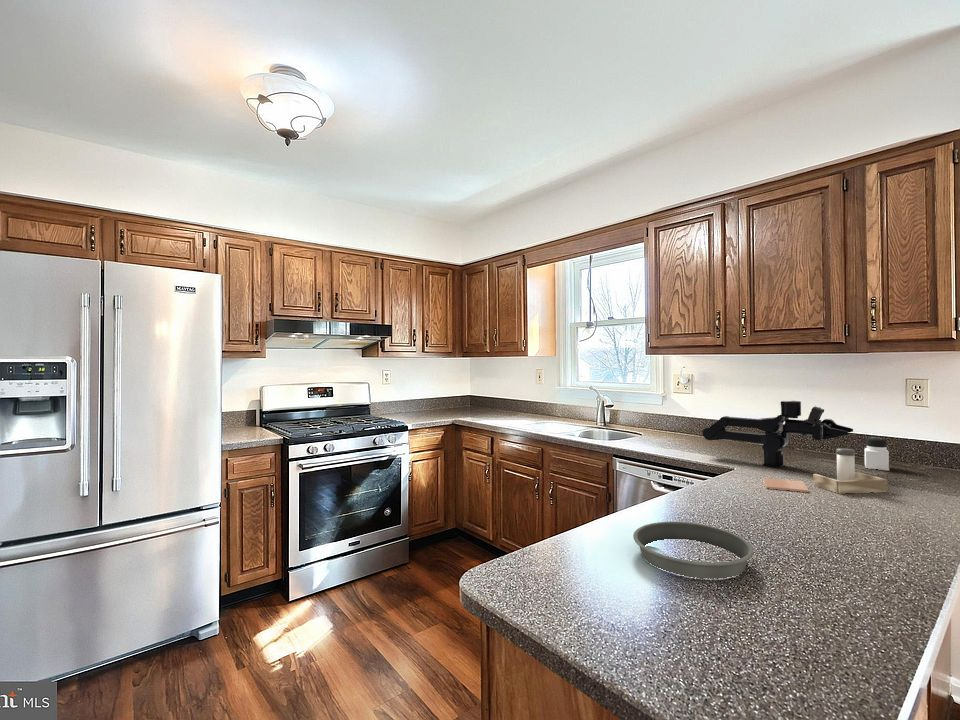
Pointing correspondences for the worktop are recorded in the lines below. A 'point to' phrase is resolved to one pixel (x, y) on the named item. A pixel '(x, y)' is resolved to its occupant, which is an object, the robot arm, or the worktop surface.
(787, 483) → the terracotta tile
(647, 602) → the worktop surface
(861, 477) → the birch stall
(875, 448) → the medicine bottle
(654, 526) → the grey thin ring
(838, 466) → the cream spice jar
